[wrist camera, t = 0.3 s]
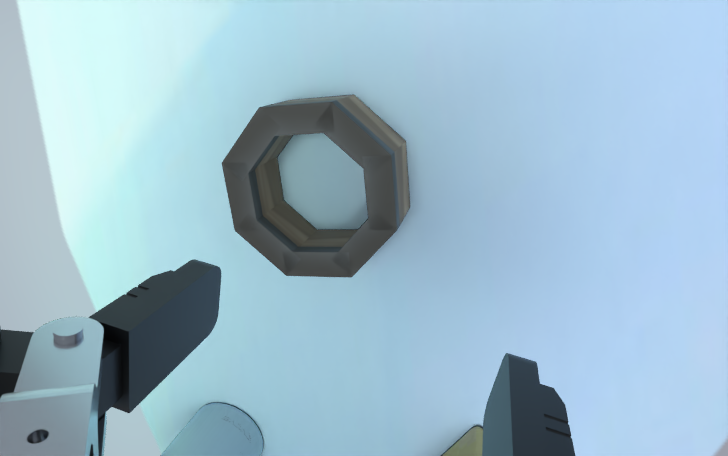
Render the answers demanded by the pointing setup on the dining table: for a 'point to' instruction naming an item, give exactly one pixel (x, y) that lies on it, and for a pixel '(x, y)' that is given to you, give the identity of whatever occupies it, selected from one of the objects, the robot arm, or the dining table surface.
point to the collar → (279, 220)
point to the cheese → (468, 444)
